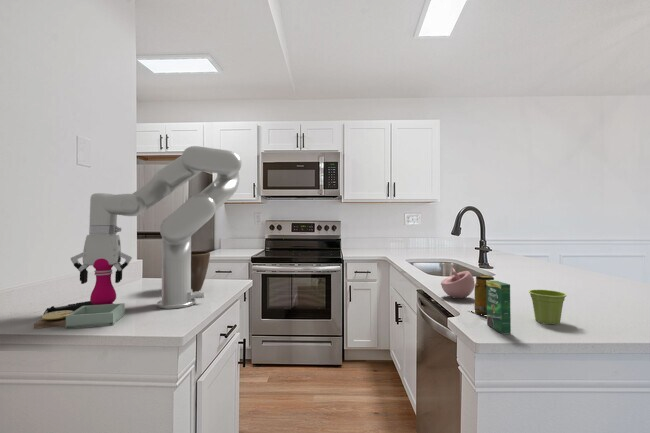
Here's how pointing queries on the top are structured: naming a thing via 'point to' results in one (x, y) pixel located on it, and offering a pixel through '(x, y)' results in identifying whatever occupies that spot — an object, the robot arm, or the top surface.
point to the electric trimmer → (68, 307)
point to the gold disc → (56, 315)
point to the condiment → (481, 294)
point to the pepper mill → (103, 284)
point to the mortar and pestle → (458, 284)
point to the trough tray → (95, 316)
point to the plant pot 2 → (547, 305)
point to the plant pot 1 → (198, 268)
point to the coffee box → (498, 306)
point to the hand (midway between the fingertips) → (101, 282)
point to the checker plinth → (50, 323)
